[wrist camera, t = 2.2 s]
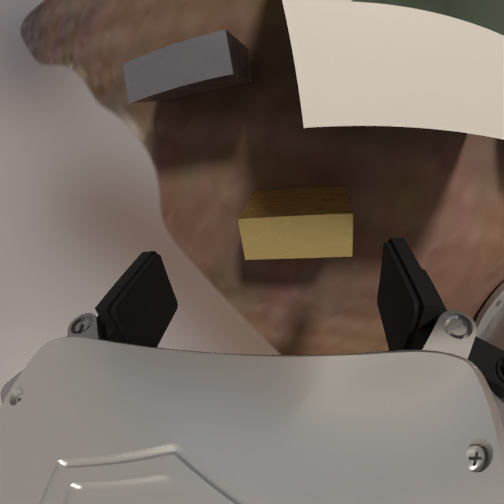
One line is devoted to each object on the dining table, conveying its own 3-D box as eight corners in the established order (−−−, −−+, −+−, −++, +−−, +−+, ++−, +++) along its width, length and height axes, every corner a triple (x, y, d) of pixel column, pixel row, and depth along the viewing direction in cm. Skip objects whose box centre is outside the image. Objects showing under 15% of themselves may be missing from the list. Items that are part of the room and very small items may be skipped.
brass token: (343, 220, 19) (352, 256, 14) (260, 224, 20) (245, 259, 16) (342, 186, 18) (353, 213, 13) (255, 191, 19) (237, 219, 15)
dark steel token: (253, 82, 15) (233, 73, 11) (169, 100, 17) (128, 103, 12) (247, 48, 14) (225, 29, 10) (164, 69, 15) (122, 64, 11)
